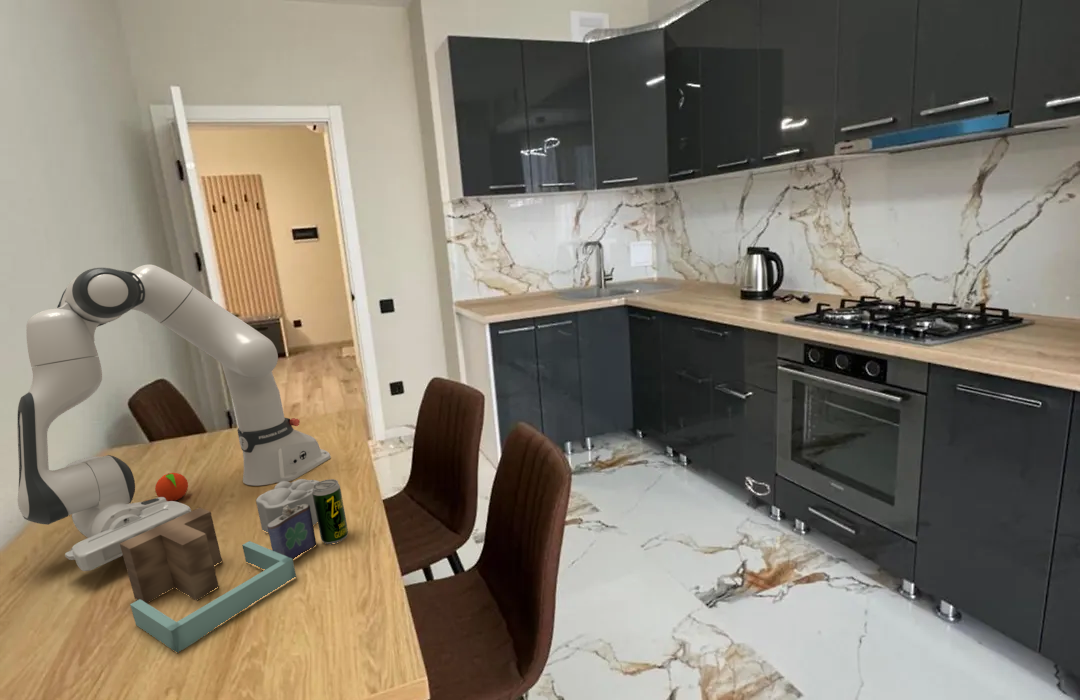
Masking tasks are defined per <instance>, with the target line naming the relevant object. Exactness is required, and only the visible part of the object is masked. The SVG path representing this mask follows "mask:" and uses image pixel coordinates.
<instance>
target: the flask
mask: <svg viewBox="0 0 1080 700" xmlns="http://www.w3.org/2000/svg"><path fill="white" fill-rule="evenodd" d="M284 506H286V505H283V506H282V507H284ZM280 509H282V508H280ZM267 527H268V532H269V534H268V535H269V541H270V546H271V550H272V551H275V552H277V553H280V554H282V555H285V556H287V557H289V558H292V559H294V558H295V557H297V556H298V555H300V554H301V553H303V552H305V551H307V550H309V549H310V548H312V549H314V548H315V547H314V546H315V545H316V544H317V540H316V535H315V529H314V526H313V523H312V516H311V511H310V506H309V505H307V504H302V505H298V506H296V507H295V508H293V509H291V508H289V506H288V505H287V506H286V507H284V508H283V515H281V516H279V517H278V518H276V519H275V520H273V521H272V522H271V523H269V524H268V525H267ZM316 546H317V545H316ZM313 547H314V548H313ZM309 551H310V550H309ZM307 552H308V551H307Z"/></svg>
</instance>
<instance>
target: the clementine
mask: <svg viewBox="0 0 1080 700" xmlns="http://www.w3.org/2000/svg"><path fill="white" fill-rule="evenodd" d="M154 490H155V491H154V492H155V493H156V497H157V498H158V497H164V498H166V501H176V502H177V500H180V499H182V498H183V497H184V496H185V495H186V494H187V492H188V490H189V482H188V480H187V478H186V477H185V476H184V475H182V474H181V473H178V472H169V473H166V474H164V475H162V476H160V478H159V479H158V480H157V482H156V484H155V486H154Z"/></svg>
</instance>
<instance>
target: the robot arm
mask: <svg viewBox="0 0 1080 700" xmlns="http://www.w3.org/2000/svg"><path fill="white" fill-rule="evenodd" d="M131 310H132V311H133V310H135V311H139V312H142V314H145V315H148V316H149V317H150V318H152V319H153V320H154V321H156V322H158V323H159V324H161V325H162V326H163V327H165V328H167V329H169V330H170V331H172V332H173V333H175V334H176V335H178V336H179V337H181V338H182V339H184V340H186V341H187V342H189V343H190V344H192V345H193V346H194V347H195V348H197V349H199V350H201V351H203V352H204V353H205V354H206V355H209V356H210V357H212V358H213V359H214V360H216V361H217V362H219V363H221V366H222V367H221V368H222V370H223V373H224V378H225V381H226V384H227V387H228V391H229V393H230V396H231V399H232V403H233V409H234V414H235V417H236V422H237V427H238V428H237V430H236V431H237V435H238V436H237V437H238V441H239V445H240V448H241V451H242V456H243V475H242V476H243V477H242V482H243V484H245V485H247V486H266V485H273V484H275V483H276V484H278V483H279V482H282V481H288V482H291V481H292V482H293V481H295V480H297V479H298V478H299V477H301V476H303V475H305V474H307V473H308V472H310V471H311V470H313V469H315V468H317V467H318V466H320V465H322V464H323V463H325V462H326V461H328V460H330V459H331V454H330V452H329V451H327V450H325V449H322V448H321V447H320V445H319V443H318V441H317V439H316V438H315V437H314V436H312V435H309V434H307V433H305V432H302V431H299V430H298V429H294V428H293V426H294V427H298V426H299V425H300V424H301V422H300V419H298V418H296V417H293V418H288V417H285V414H284V409H283V403H282V399H281V394H280V390H279V388H278V385H277V383H276V380H275V377H274V374H273V371H274V369H275V368H276V367H277V364H278V360H279V355H278V350H277V348H276V346H275V344H274V342H273V341H272V340H271V339H270V338H268V337H267V336H265V335H264V334H262V333H261V332H260V331H258V330H257V329H255V328H254V327H253V326H251V325H249V324H247V323H246V322H244V320H243V319H240V318H239V317H237V316H236V315H234V314H233V313H231V312H230V311H228V310H227V309H225V308H224V307H222V306H221V305H219V304H218V303H217V302H215V301H214V300H212V299H211V298H210V297H208V296H207V295H206V294H204V293H202V292H201V291H200V290H198V289H197V288H196V287H195V286H193V285H191V284H189V282H187V281H186V280H183V279H182V278H180V277H179V276H177V275H176V274H173V273H172V272H170V271H168V270H167V269H165V268H162V267H160V266H157V265H155V264H151V263H150V264H143V265H140V266H137V267H136V268H134V269H133V270H131V271H127V270H125V271H124V270H119V269H115V268H110V267H94V268H89V269H87V270H85V271H83V272H81V274H78V275H77V276H75V277H74V278H72V279H71V281H70V282H69V283H68V284H67V286H66V288H65V289H64V291H63V292H62V295H61V297H60V300H59V302H58V305H57V306H56V308H49V309H44V310H42V311H39V312H37V313H35V314H33V315H32V316H31V317H30V318H29V319H28V320H27V323H26V344H27V353H28V359H29V363H30V366H31V370H32V381H31V385H30V389H29V390H28V392H27V393H25V394H24V395H23V396H21V397H20V399H19V402H18V407H17V446H18V447H17V448H18V449H17V451H18V493H17V506H18V510H19V512H20V514H21V515H22V517H23V519H24V520H26V521H29V522H31V523H35V524H40V525H46V526H47V525H51V524H53V523H55V522H58V521H60V520H62V519H66V518H67V517H69V516H71V519H72V522H73V524H74V526H75V528H76V529H77V530H78V531H79V532H80V533H81V534H82V535H83V536H85V537H86V538H84V539H83V540H81V541H79V542H77V543H75V544H74V545H73V546H72V547H71V549H70V550H68V551H67V552H65V554H64V557H65V558H66V559H68V561H69V560H70V561H74V560H75V563H76V565H77V567H78V568H79V569H80V570H81V571H82V572H89V571H92V570H95V569H96V568H99V567H102V566H103V565H105V564H107V563H111V562H112V561H113V560H116V559H118V558H120V557H123V554H122V551H121V547H120V543H122V542H124V541H126V540H129V539H131V538H133V537H135V536H138V535H140V534H142V533H144V532H146V531H149V530H151V529H153V528H155V527H158V526H160V525H162V524H164V523H167V522H169V521H171V520H173V519H175V518H178V517H180V516H182V515H184V514H187V513H189V512H191V511H192V509H191V507H190V506H189V505H187V504H185V503H182V502H178V501H177V500H176V501H166V498H164V497H158V496H157V497H156V498H155V497H154V498H152V499H148V500H143V501H139V502H132V501H133V499H134V495H135V492H136V483H135V477H134V473H133V471H132V470H131V467H130V466H129V465H128V464H127V463H126V462H125V461H124V460H122V459H120V458H119V457H117V456H115V455H110V454H107V455H102V456H98V457H99V458H95V459H92V460H88V461H84V462H82V463H79V464H75V465H72V466H68V467H66V466H65V467H62V468H59V469H55V470H50V468H49V448H48V446H49V445H48V432H49V429H50V426H51V425H52V423H53V422H54V421H55V420H56V419H57V418H58V417H60V416H61V415H63V414H64V413H66V412H68V411H69V410H71V409H73V408H75V407H77V406H78V405H80V404H82V403H83V402H84V401H86V400H88V399H89V398H90V397H92V396H93V395H94V394H95V393H96V392H97V390H98V389H99V387H100V385H101V383H102V381H103V371H102V364H101V360H100V358H99V357H100V356H99V353H98V350H97V347H96V345H95V344H96V343H95V332H96V329H97V328H98V327H101V326H104V325H106V324H108V323H111V322H114V321H116V320H118V319H119V318H121V317H122V316H123V315H124V314H126V313H128V312H129V311H131Z"/></svg>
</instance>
